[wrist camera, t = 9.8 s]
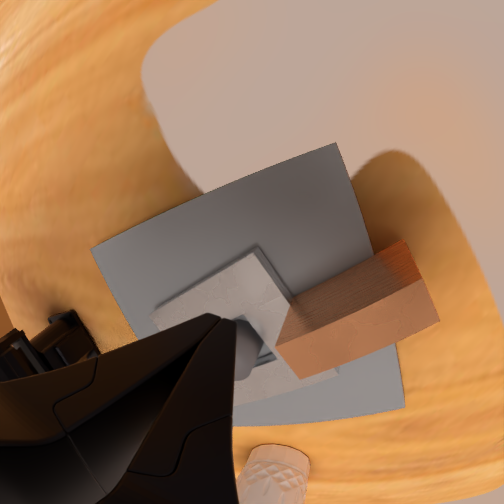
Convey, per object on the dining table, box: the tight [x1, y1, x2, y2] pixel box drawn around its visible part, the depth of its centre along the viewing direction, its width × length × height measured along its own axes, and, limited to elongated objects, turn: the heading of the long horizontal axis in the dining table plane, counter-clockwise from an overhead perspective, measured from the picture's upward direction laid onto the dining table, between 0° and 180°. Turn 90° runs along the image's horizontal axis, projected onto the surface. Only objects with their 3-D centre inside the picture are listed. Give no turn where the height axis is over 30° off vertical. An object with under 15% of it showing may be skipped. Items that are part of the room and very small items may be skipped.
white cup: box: [236, 444, 310, 504], centre depth 24 cm, size 8×8×10 cm
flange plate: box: [148, 239, 440, 406], centre depth 17 cm, size 18×10×5 cm, turn 127°
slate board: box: [90, 143, 405, 426], centre depth 21 cm, size 20×20×4 cm
